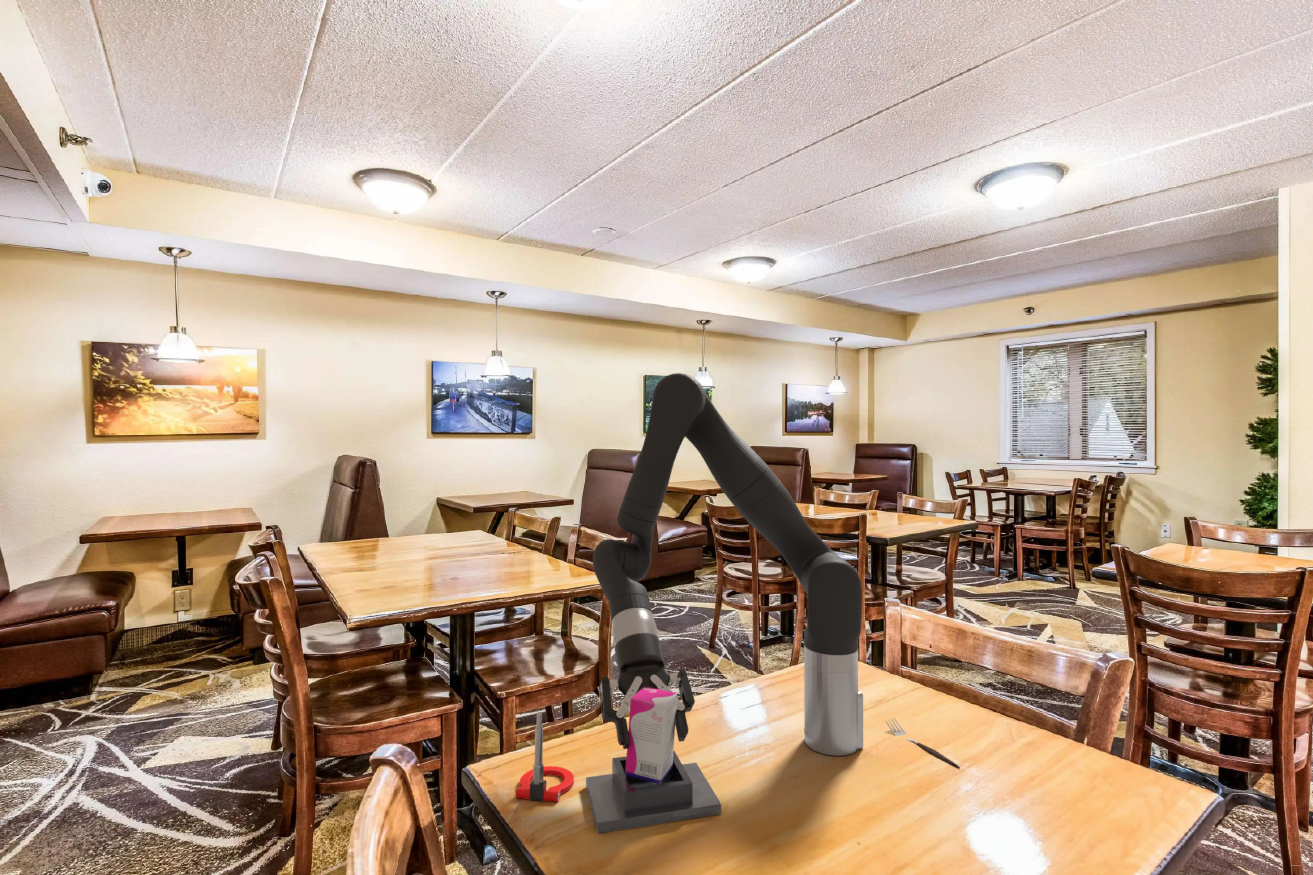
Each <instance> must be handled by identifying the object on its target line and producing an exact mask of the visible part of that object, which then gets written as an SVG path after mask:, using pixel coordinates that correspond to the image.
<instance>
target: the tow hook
mask: <svg viewBox="0 0 1313 875" xmlns="http://www.w3.org/2000/svg"><path fill="white" fill-rule="evenodd" d="M542 718H543V712H539V711H538V712H537V713H536V726H535V727H534V764H532V769H530V770H528V771H526V772H525V773H524V774H522V775H521V777H520V778H519V787H517V789H516V791H515V798H516V799H523V800H524V799H525V800H530V801H536V802H537V801H538V802H555V803H558V802H560V799H561V795H562V794H563V793H565V792H567V791H569V790H570V789H571V788H572V787H573V786H574V783H575V777H574V776H575V775H574V774H573V772H572V771H570V770H569V769H567V768H564V767H561V766H555V765H554V766H553V765H549V766H547V765H546V766H544V762H543V759H544V758H543V757H544V756H543V750H544V747H543V746H544V743H543V742H544V726H543V722H542V721H543V719H542ZM549 775H550V776H556V777H560V778H562V780H563V781H562V782H560V783H558V784H557V785H553V786H550V787H548V788H547V780H546V779H544V777H545V776H549Z"/></svg>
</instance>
